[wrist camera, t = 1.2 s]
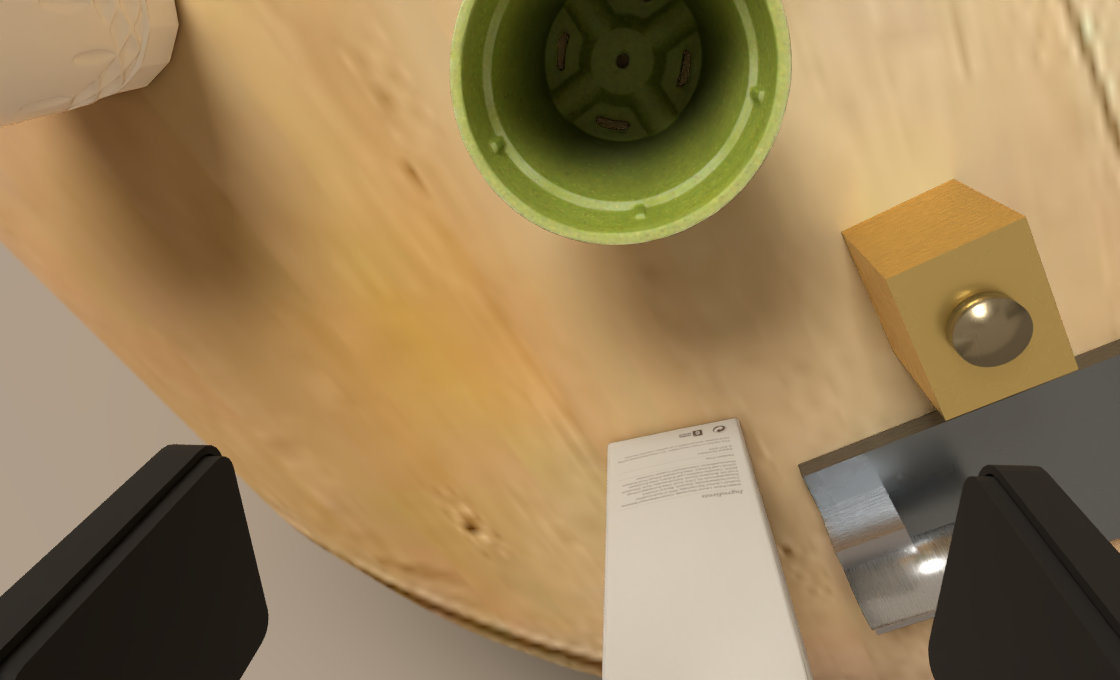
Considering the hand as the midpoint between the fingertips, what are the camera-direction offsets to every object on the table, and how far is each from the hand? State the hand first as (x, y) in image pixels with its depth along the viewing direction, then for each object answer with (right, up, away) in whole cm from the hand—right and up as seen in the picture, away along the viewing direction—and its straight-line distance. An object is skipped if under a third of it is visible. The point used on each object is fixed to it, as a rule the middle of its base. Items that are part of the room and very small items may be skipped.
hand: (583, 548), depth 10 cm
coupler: (+15, +6, +21) cm, 26 cm away
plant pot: (+2, +13, +19) cm, 23 cm away
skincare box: (+6, -5, +27) cm, 28 cm away
